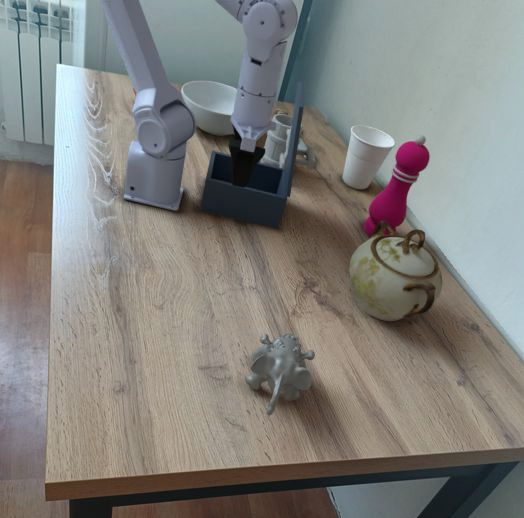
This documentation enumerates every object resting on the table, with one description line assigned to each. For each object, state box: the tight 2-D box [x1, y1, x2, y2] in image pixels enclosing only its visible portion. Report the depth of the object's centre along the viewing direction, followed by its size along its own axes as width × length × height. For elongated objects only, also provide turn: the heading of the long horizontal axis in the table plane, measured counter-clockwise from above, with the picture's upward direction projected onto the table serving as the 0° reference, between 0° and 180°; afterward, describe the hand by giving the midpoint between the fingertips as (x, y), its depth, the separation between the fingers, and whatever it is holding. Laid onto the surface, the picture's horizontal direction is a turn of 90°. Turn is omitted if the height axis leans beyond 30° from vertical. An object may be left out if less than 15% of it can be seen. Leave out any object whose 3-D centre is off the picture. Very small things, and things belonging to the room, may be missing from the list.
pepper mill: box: [363, 134, 431, 237], centre depth 101 cm, size 7×7×20 cm
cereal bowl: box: [180, 80, 237, 137], centre depth 120 cm, size 17×17×7 cm
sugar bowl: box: [348, 221, 443, 322], centre depth 85 cm, size 20×15×15 cm
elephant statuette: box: [245, 332, 316, 416], centre depth 67 cm, size 9×12×8 cm
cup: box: [341, 124, 396, 190], centre depth 117 cm, size 10×10×11 cm
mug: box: [259, 113, 304, 169], centre depth 112 cm, size 8×12×12 cm, turn 7°
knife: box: [274, 108, 308, 160], centre depth 129 cm, size 27×2×5 cm
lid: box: [286, 81, 316, 198], centre depth 93 cm, size 15×12×4 cm
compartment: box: [199, 149, 288, 230], centre depth 100 cm, size 15×12×6 cm
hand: (239, 174), depth 88 cm, fingers open, 7 cm apart
